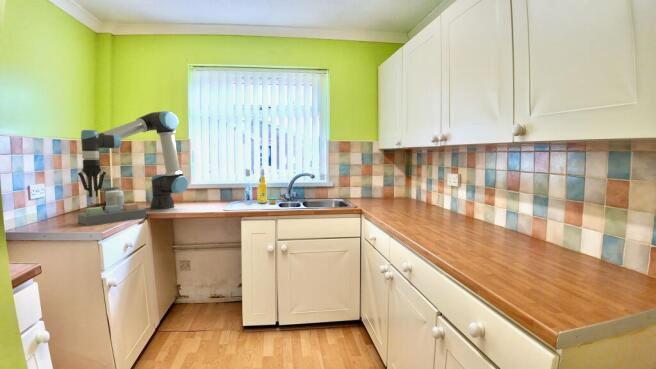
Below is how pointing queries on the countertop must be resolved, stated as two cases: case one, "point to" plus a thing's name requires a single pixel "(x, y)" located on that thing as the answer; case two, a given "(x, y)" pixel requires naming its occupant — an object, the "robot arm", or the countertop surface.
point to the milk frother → (104, 195)
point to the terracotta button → (130, 206)
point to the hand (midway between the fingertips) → (93, 202)
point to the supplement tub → (114, 198)
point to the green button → (94, 210)
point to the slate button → (112, 208)
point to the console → (111, 217)
